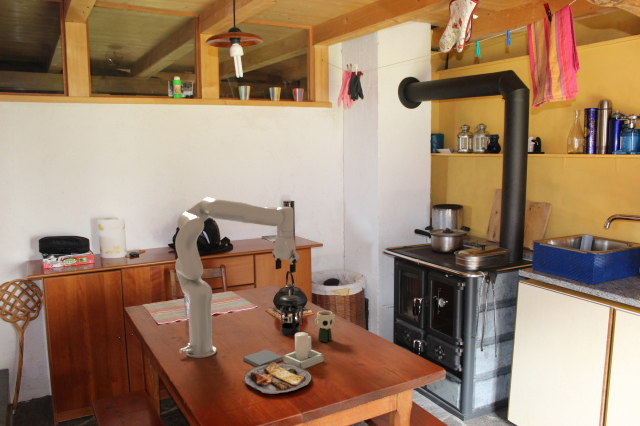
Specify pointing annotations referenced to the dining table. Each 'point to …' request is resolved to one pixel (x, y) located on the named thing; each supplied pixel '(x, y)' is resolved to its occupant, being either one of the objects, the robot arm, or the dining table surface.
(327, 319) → the character mug
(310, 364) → the cream rectangular frame
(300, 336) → the cream jug
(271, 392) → the food plate
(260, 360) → the slate coaster
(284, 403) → the dining table surface
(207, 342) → the robot arm
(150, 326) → the dining table surface
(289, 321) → the french press
